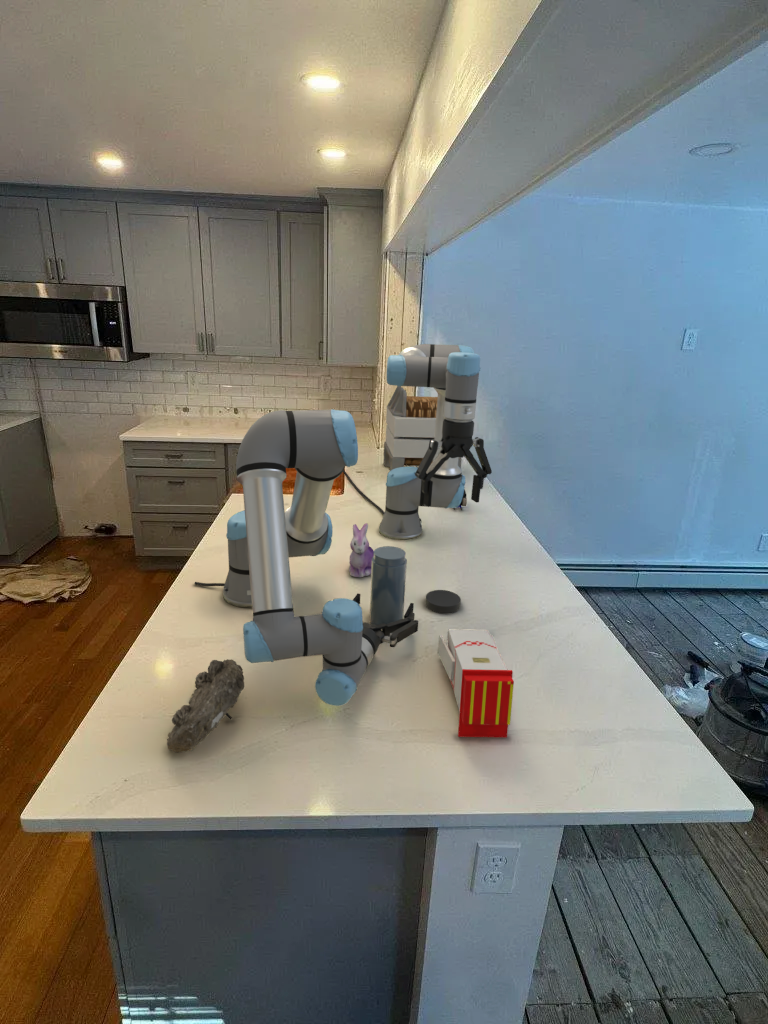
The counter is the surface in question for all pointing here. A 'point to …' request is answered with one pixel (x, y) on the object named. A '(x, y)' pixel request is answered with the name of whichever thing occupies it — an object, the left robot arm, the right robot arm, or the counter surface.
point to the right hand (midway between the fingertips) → (451, 503)
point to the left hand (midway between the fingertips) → (385, 603)
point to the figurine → (360, 553)
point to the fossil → (206, 705)
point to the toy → (478, 682)
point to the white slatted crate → (409, 429)
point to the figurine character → (463, 501)
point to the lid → (442, 601)
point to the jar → (387, 585)
